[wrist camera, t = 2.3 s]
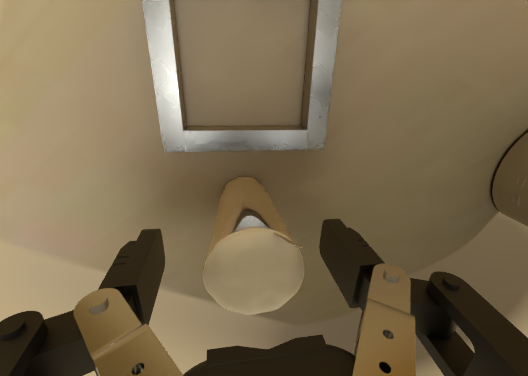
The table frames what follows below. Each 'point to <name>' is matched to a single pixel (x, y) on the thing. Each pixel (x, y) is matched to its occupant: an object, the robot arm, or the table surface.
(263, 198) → the milkshake
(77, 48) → the table surface
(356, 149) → the table surface
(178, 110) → the grey square frame
